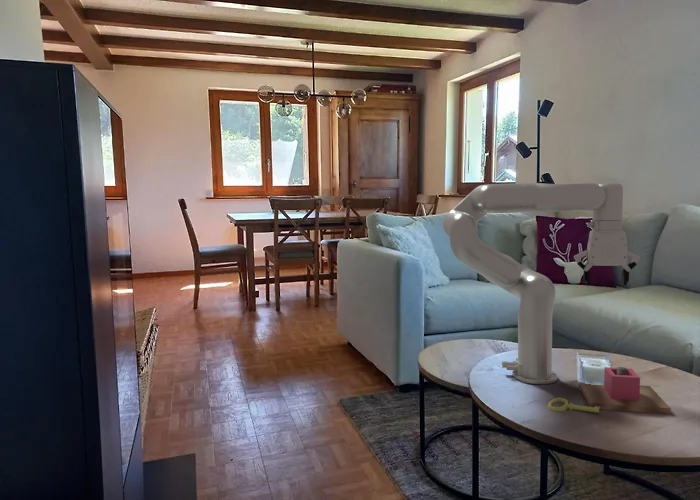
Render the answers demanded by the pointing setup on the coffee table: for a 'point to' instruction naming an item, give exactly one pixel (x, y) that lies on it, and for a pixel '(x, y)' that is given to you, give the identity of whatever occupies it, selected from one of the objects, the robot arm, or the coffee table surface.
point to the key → (570, 406)
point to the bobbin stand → (646, 402)
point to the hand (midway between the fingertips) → (605, 284)
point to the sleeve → (621, 384)
